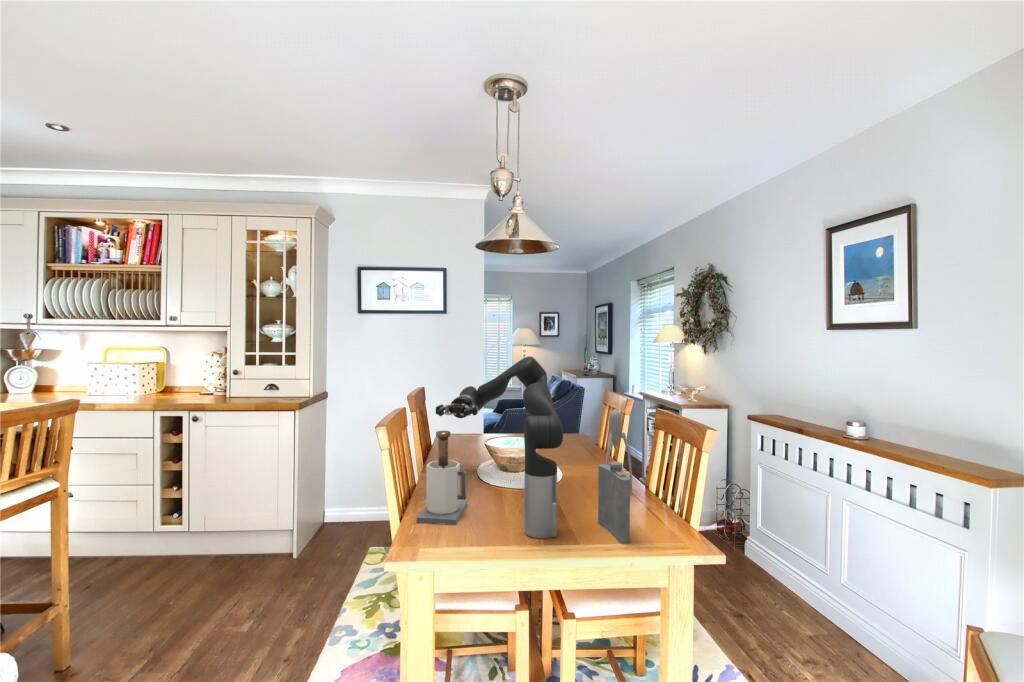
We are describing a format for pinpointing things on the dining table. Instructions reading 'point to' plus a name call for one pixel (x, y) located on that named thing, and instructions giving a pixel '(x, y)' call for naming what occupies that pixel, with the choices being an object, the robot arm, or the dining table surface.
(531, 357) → the robot arm
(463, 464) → the dining table surface
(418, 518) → the coffee press
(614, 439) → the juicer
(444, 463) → the plunger
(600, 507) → the hip flask
